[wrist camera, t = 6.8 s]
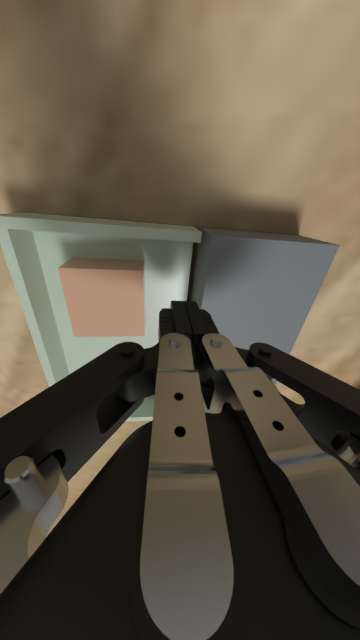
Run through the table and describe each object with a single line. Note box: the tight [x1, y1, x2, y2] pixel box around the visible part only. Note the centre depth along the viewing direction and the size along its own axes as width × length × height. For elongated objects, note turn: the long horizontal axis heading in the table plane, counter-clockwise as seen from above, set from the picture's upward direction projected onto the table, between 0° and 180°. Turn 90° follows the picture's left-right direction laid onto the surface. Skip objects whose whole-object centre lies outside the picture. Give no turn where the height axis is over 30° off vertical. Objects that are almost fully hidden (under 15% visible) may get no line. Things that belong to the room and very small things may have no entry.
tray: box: [0, 212, 202, 422], centre depth 17 cm, size 18×11×3 cm, turn 175°
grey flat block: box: [190, 227, 340, 384], centre depth 18 cm, size 18×8×4 cm, turn 175°
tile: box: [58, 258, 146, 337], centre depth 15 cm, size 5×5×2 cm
